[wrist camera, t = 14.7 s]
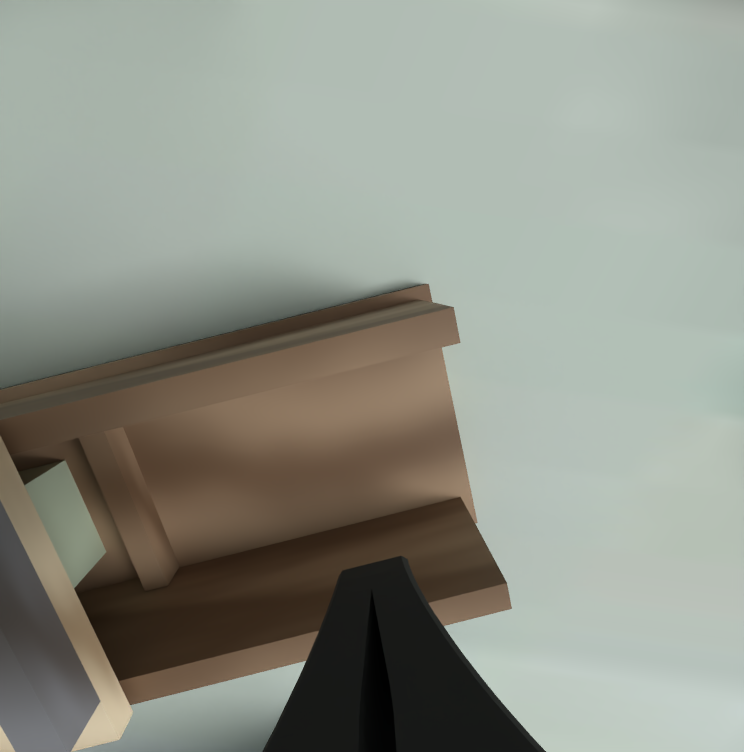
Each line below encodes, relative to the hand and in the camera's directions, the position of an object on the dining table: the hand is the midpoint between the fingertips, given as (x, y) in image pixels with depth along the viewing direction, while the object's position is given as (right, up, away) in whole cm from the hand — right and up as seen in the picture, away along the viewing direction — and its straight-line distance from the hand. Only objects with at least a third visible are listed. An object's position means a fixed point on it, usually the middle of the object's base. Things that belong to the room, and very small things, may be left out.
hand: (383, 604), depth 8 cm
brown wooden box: (-9, 0, +10) cm, 13 cm away
